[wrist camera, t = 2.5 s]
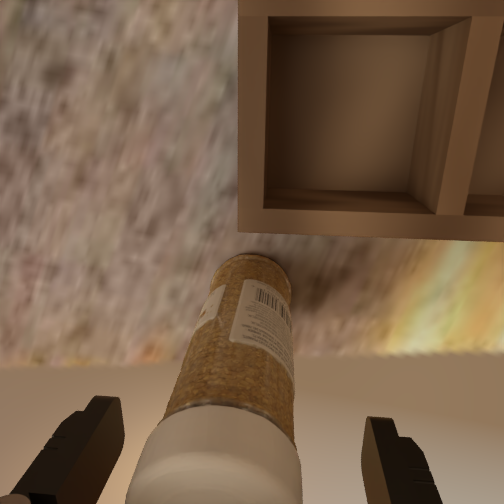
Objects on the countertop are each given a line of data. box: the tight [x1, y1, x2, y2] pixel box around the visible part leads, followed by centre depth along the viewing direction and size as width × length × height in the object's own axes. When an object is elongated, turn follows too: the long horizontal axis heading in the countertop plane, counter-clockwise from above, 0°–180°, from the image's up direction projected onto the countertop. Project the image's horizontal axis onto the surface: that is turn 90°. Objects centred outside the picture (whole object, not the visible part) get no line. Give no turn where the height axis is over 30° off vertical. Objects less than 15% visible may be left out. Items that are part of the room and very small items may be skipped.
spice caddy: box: [238, 0, 504, 242], centre depth 16 cm, size 16×9×5 cm, turn 89°
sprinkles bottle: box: [125, 254, 303, 504], centre depth 16 cm, size 5×5×14 cm
